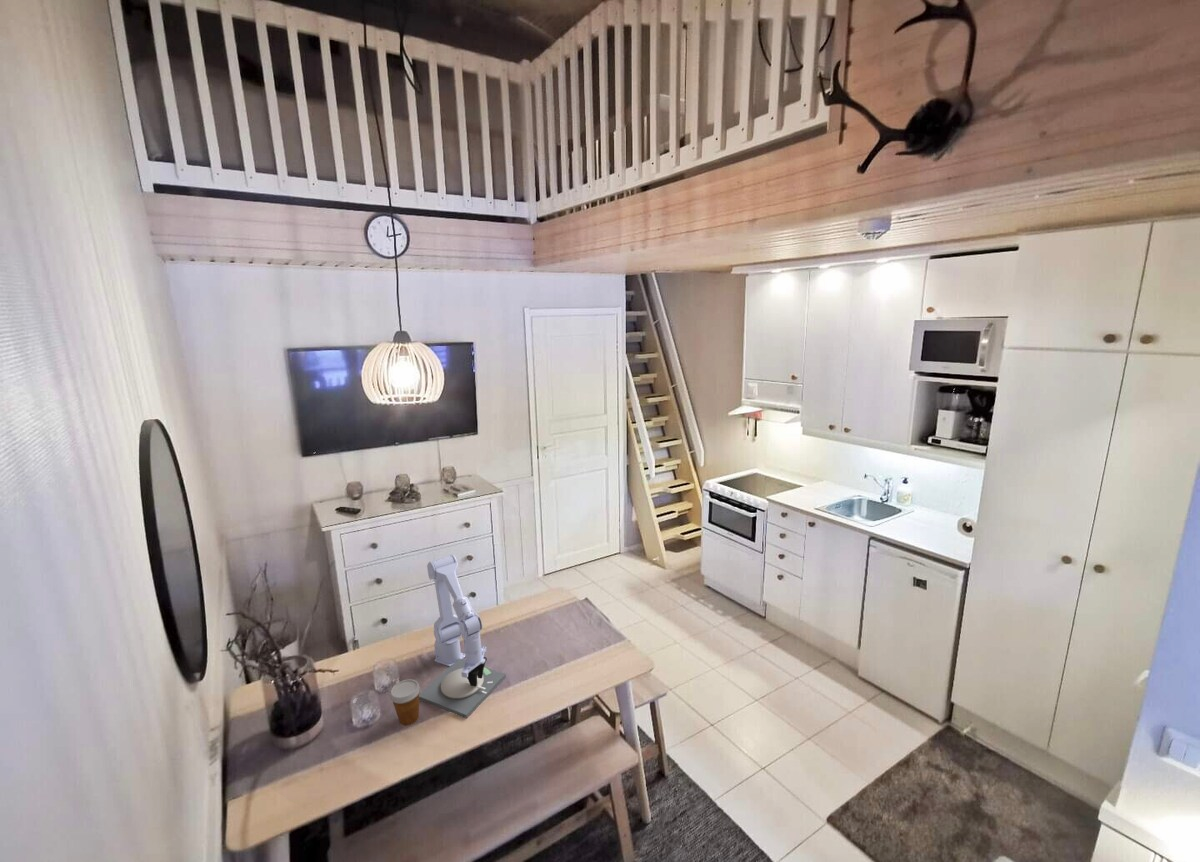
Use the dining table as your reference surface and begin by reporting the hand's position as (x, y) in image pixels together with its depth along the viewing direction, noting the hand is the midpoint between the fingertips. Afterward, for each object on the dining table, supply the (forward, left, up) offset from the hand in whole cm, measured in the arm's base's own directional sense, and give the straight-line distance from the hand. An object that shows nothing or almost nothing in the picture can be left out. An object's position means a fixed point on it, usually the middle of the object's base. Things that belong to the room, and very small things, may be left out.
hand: (476, 681), depth 190 cm
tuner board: (-6, -1, -4) cm, 7 cm away
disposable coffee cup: (-13, -20, -4) cm, 24 cm away
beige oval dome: (-4, -1, -2) cm, 5 cm away
